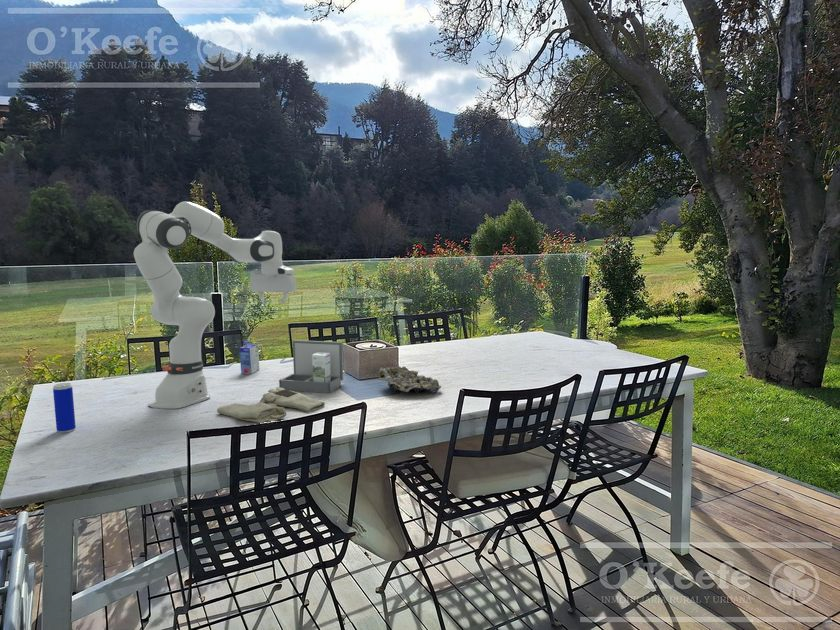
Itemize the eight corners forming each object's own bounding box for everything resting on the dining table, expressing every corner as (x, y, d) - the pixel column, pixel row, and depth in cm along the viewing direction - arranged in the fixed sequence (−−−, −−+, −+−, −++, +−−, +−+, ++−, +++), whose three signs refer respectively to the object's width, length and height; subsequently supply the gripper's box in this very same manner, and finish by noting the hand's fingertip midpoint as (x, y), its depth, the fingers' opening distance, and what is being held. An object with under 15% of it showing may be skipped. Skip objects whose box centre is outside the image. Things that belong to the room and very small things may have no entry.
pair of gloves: (282, 396, 222) (281, 383, 221) (327, 408, 206) (327, 393, 205) (213, 415, 198) (212, 400, 197) (258, 429, 182) (258, 413, 182)
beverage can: (79, 427, 184) (75, 382, 182) (69, 433, 178) (65, 386, 177) (62, 428, 183) (58, 382, 182) (53, 433, 178) (49, 386, 176)
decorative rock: (397, 399, 213) (395, 372, 213) (371, 392, 236) (369, 368, 236) (447, 392, 222) (446, 366, 222) (417, 386, 246) (416, 363, 246)
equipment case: (330, 393, 224) (329, 348, 222) (279, 389, 230) (277, 345, 228) (343, 384, 238) (342, 342, 236) (295, 381, 243) (294, 340, 241)
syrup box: (331, 386, 234) (330, 352, 232) (325, 390, 228) (324, 355, 227) (318, 386, 236) (317, 351, 234) (312, 389, 230) (311, 354, 228)
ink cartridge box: (248, 369, 268) (247, 338, 266) (260, 369, 267) (258, 338, 265) (240, 374, 258) (238, 342, 256) (251, 374, 257) (250, 342, 255)
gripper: (246, 269, 238) (247, 302, 240) (290, 270, 233) (291, 303, 235) (254, 269, 244) (255, 301, 246) (297, 269, 239) (298, 302, 241)
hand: (273, 302), depth 240 cm, fingers open, 8 cm apart
